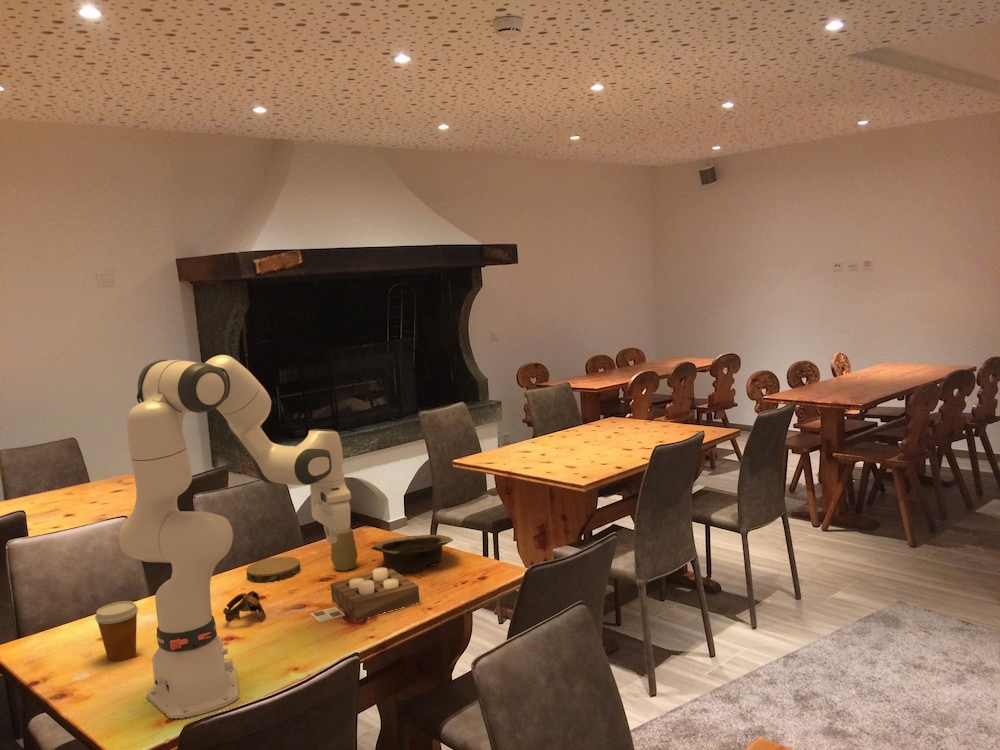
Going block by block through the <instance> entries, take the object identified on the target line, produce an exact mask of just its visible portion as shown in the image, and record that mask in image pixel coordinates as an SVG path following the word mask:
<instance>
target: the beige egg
mask: <svg viewBox="0 0 1000 750" xmlns="http://www.w3.org/2000/svg"><path fill="white" fill-rule="evenodd" d="M387 569H388V568H387V567H376V568H374V569H372V573H373V580H374V582H376V583H377V582H380V581H384V580H387V579H388V572H387Z"/></svg>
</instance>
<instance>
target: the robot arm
mask: <svg viewBox="0 0 1000 750" xmlns="http://www.w3.org/2000/svg"><path fill="white" fill-rule="evenodd" d="M136 400H137V403H138V404H136V405H134V406H133V407H132V408H131V409H130V410H129V412H128V413H127V414H128V415H127V419H126V420H127V421H126V426H127V427H126V428H127V429H126V430H127V431H126V432H127V433H126V434H127V443H128V449H129V450H128V451H129V455H130V461H131V465H132V471H133V477H134V482H135V490H136V491H135V493H136V495H135V496H136V497H135V498H136V499H135V504H134V507H133V510H132V512H131V514H130V515H129V516H128V517H127V518H126V519H125V521H123V524H122V525H121V526H120V530H119V533H118V542H119V544H118V545H119V546H120V549H121V552H122V553H123V554H124V555H125V556H127V557H129V558H131V559H135V560H138V561H142V562H145V563H146V562H147V563H167V564H168V563H170V564H171V569H172V573H171V576H170V578H169V579H167V580H166V581H165V582H163V584H161V585H160V586H159V588H158V589H157V590H156V593H155V597H154V600H155V609H156V618H157V627H156V639H157V645H158V648H157V650H156V651H155V653H154V654H153V656H152V657H151V661H152V663H151V664H152V675H153V685H154V686H153V687H152V688H150V689H149V690H148V691H146V693H145V694H146V699H147V698H148V699H147V700H148V701H150V702H151V703H152V705H154V706H155V705H156V706H157V707H156V706H155V707H156V708H158V709H159V711H161V712H162V714H164V713H165V714H166V716H167V718H169V719H170V718H171V719H170V720H178V719H177V718H180V719H185V717H187V718H190V717H195V715H196V716H199V715H203V714H206V713H209V712H212V711H216V710H218V709H221V708H224V707H225V706H228V705H230V704H232V703H234V702H235V701H237V700H238V699H239V698H240V693H239V683H238V675H237V674H238V673H237V668H236V667H235V666H234V665H233V658H228V659H225V655H227V654H228V655H229V652H228V650H229V649H228V647H224V644H223V638H222V637H220V636H219V635H218V634H217V633H218V632H217V623H216V621H215V616H213V614H212V602H211V600H212V599H211V581H212V577H213V573H214V572H215V571H214V570H215V568H216V566H217V565H218V564H219V562H221V560H222V559H224V558H225V557H226V555H228V552H229V551H230V550H231V547H232V544H233V540H234V532H233V527H232V525H231V523H230V521H229V520H228V518H227V517H225V516H222V515H219V514H215V513H213V512H208V511H197V510H196V511H195V510H194V511H192V510H191V511H189V510H188V511H186V510H185V511H181V510H179V508H178V497H179V496H180V495H182V494H183V493H184V492H186V491H187V490H188V488H189V486H190V485H191V483H192V481H193V475H192V470H191V465H190V464H191V463H190V459H189V455H188V454H189V453H188V449H187V444H186V439H185V435H184V432H183V431H184V430H183V422H184V417H185V414H186V413H195V414H196V413H197V414H202V413H203V414H204V413H206V412H207V413H208V412H211V411H213V410H215V409H216V410H217V411H218V412H219V413H220V414H221V415H222V416H223V417H224V419H225V421H226V424H227V426H228V428H229V430H230V432H231V433H232V435H233V436H234V437H235V439H236V440H237V442H238V443H239V444H240V445H241V447H242V449H243V450H244V452H246V453H247V455H248V456H249V458H250V459H251V461H252V463H253V467H254V468H255V471H256V474H257V475H258V477H259V479H260V480H261V481H262V482H264V483H265V484H267V485H293V486H296V485H297V486H309V487H310V488H309V489H310V499H311V501H310V502H311V516H312V519H313V520H315V521H317V522H318V523H319V524H321V525H323V529H324V532H325V535H326V541H327V542H328V543H330V544H331V543H332V544H333V543H336V542H337V533H339V532H344V531H348V530H349V529H350V528H351V505H350V501H351V499H352V495H351V491H350V490H349V488H348V487H347V485H346V482H345V473H344V472H343V464H344V463H343V462H344V458H343V457H344V455H343V447H342V441H341V438H340V435H339V433H338V431H336V430H334V429H328V428H327V429H323V428H313V429H312V428H311V429H309V430H308V435H307V436H306V437H305V438H304V439H303V441H301V442H300V443H299V444H297V445H296V446H295V445H284V444H283V445H281V444H277V443H275V442H273V441H271V440H270V439H269V437H268V436H267V435H266V433H265V432H264V430H263V429H262V428H261V425H262V424H263V423H264V422H265V421H266V420H267V418H268V417H269V414H270V412H271V409H272V408H271V407H272V400H271V397H270V395H269V393H268V391H267V390H266V389H265V387H264V386H263V385H262V384H261V382H260V381H259V380H258V378H256V377H255V376H254V375H253V374H252V373H251V372H250V371H249V370H248V369H247V368H246V367H245V366H244V365H242V364H241V363H240V362H239V361H238V360H237V359H235V358H234V357H232V356H231V355H227V354H226V355H225V354H219V355H216V356H213V357H211V358H209V359H208V360H207V361H205V362H196V361H189V360H186V359H171V360H169V359H160V360H156V361H154V362H153V361H152V362H150V363H149V364H147V365H146V366H145V367H144V368H142V370H141V372H140V374H139V377H138V380H137V394H136ZM165 714H164V715H165ZM173 718H175V719H173Z"/></svg>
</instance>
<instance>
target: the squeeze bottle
mask: <svg viewBox="0 0 1000 750" xmlns="http://www.w3.org/2000/svg"><path fill="white" fill-rule="evenodd" d="M330 544H331V551H330V558H331V561H332V564H333V567H334V568H335V570H336V569H337V570H336V571H338V570H346V571H349V570H348V569H351V570H353V569H355V568H356V563H357V560H358V559H357V558H358V551H357V546H356V540H355V536H354V530H353V528H351V527H350V529H349V530H348V531H344V532H339V533H337V542H336V543H333V544H332V543H330ZM352 568H353V569H352Z"/></svg>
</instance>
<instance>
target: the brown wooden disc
mask: <svg viewBox="0 0 1000 750" xmlns="http://www.w3.org/2000/svg"><path fill="white" fill-rule="evenodd" d="M245 570H246V578H247V579H246V580H247V581H249V582H250V583H255V584H268V582H269V584H271V583H276V582H275V581H277V582H281V581H280V580H282V581H285V580H284V579H286V580H288V579H287V578H289V579H291V578H293V577H295V576H297V575H298V574H300V572H301V561H300V560H299V558H296V557H293V556H278V557H277V556H275V557H270V558H265V559H261V560H259V561H255V562H253V563H251V564H249V565H248V566H247V567H246V569H245ZM299 571H300V572H299ZM297 573H298V574H297ZM296 574H297V575H296ZM294 575H295V576H294ZM290 577H291V578H290ZM270 582H271V583H270Z"/></svg>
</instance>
